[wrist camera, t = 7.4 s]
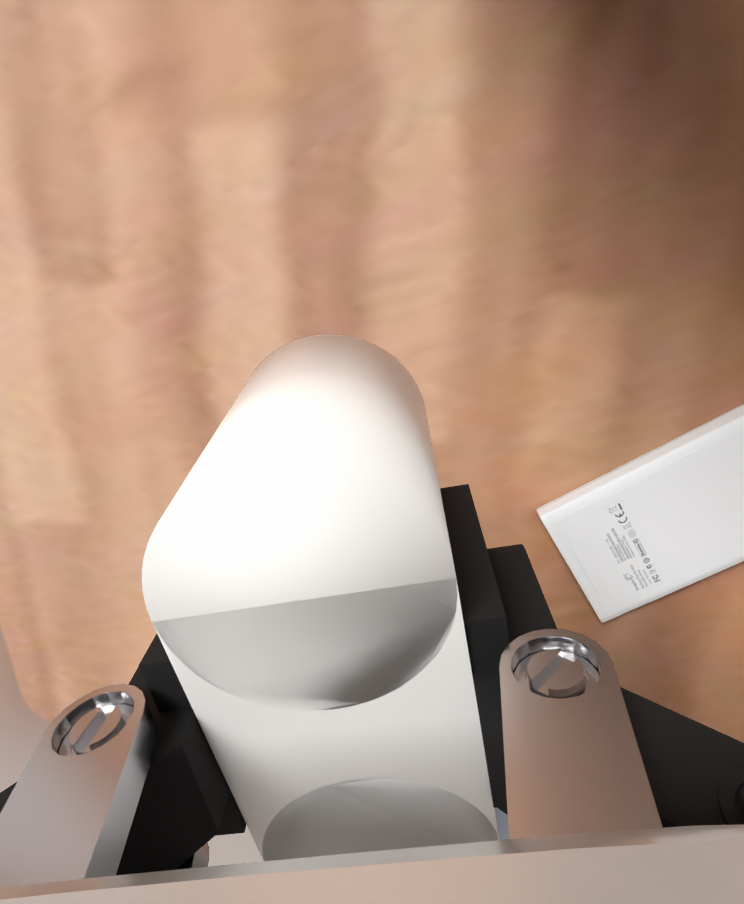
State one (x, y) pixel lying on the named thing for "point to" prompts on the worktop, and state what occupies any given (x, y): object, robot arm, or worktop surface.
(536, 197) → the worktop surface
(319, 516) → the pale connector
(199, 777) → the robot arm
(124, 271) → the worktop surface
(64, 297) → the worktop surface
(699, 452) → the external hard drive
